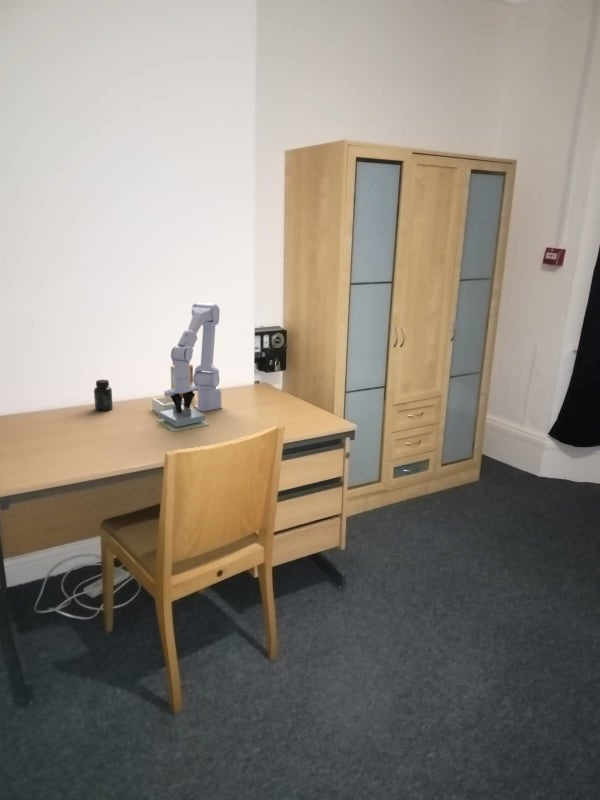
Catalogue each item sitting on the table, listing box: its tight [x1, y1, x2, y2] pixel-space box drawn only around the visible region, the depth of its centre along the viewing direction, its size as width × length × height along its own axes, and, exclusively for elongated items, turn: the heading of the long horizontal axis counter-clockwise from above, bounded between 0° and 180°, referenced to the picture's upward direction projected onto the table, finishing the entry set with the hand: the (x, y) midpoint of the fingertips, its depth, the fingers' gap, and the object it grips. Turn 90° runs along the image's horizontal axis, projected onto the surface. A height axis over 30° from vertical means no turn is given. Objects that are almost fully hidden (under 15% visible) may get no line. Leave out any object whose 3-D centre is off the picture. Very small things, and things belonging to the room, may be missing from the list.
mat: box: [156, 418, 210, 433], centre depth 221 cm, size 15×15×1 cm
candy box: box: [170, 364, 194, 399], centre depth 250 cm, size 9×4×15 cm, turn 129°
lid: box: [158, 405, 206, 427], centre depth 220 cm, size 12×12×5 cm
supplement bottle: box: [93, 379, 114, 412], centre depth 232 cm, size 7×7×12 cm
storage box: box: [151, 395, 184, 415], centre depth 233 cm, size 11×11×5 cm
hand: (182, 411), depth 219 cm, fingers closed on lid, 3 cm apart
